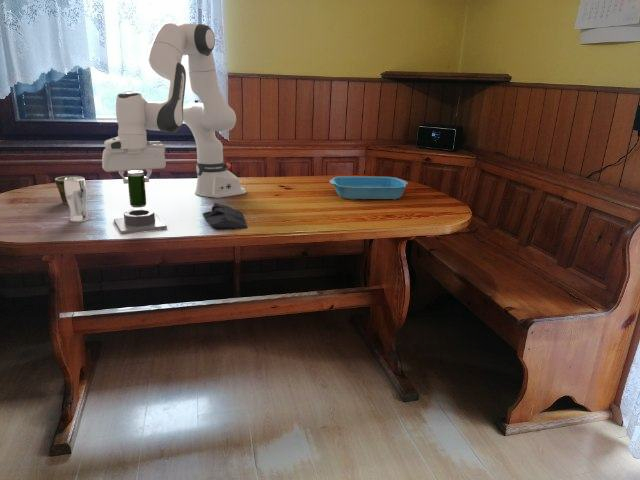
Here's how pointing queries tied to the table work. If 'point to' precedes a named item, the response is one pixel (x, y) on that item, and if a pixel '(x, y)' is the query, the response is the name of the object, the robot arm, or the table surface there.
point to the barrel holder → (139, 221)
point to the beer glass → (76, 198)
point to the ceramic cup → (62, 187)
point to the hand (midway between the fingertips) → (136, 182)
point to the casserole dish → (368, 187)
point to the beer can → (136, 188)
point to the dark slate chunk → (225, 217)
